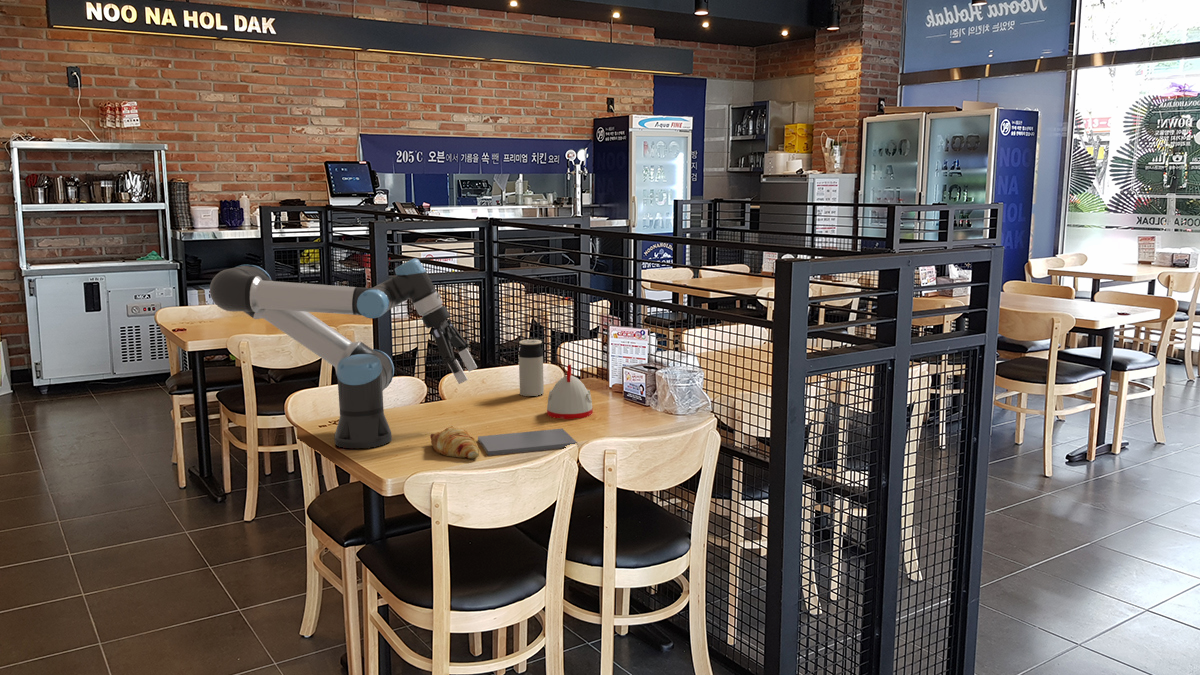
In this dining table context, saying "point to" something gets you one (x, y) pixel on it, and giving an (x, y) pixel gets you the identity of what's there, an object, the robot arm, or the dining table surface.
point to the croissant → (455, 443)
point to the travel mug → (531, 368)
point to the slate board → (525, 441)
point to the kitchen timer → (569, 398)
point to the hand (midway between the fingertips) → (468, 375)
